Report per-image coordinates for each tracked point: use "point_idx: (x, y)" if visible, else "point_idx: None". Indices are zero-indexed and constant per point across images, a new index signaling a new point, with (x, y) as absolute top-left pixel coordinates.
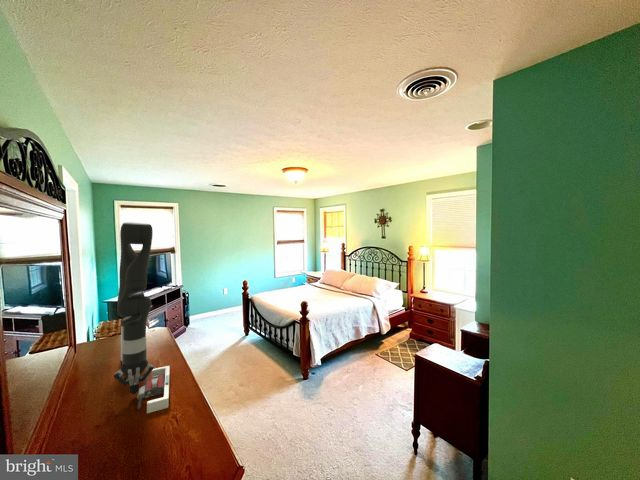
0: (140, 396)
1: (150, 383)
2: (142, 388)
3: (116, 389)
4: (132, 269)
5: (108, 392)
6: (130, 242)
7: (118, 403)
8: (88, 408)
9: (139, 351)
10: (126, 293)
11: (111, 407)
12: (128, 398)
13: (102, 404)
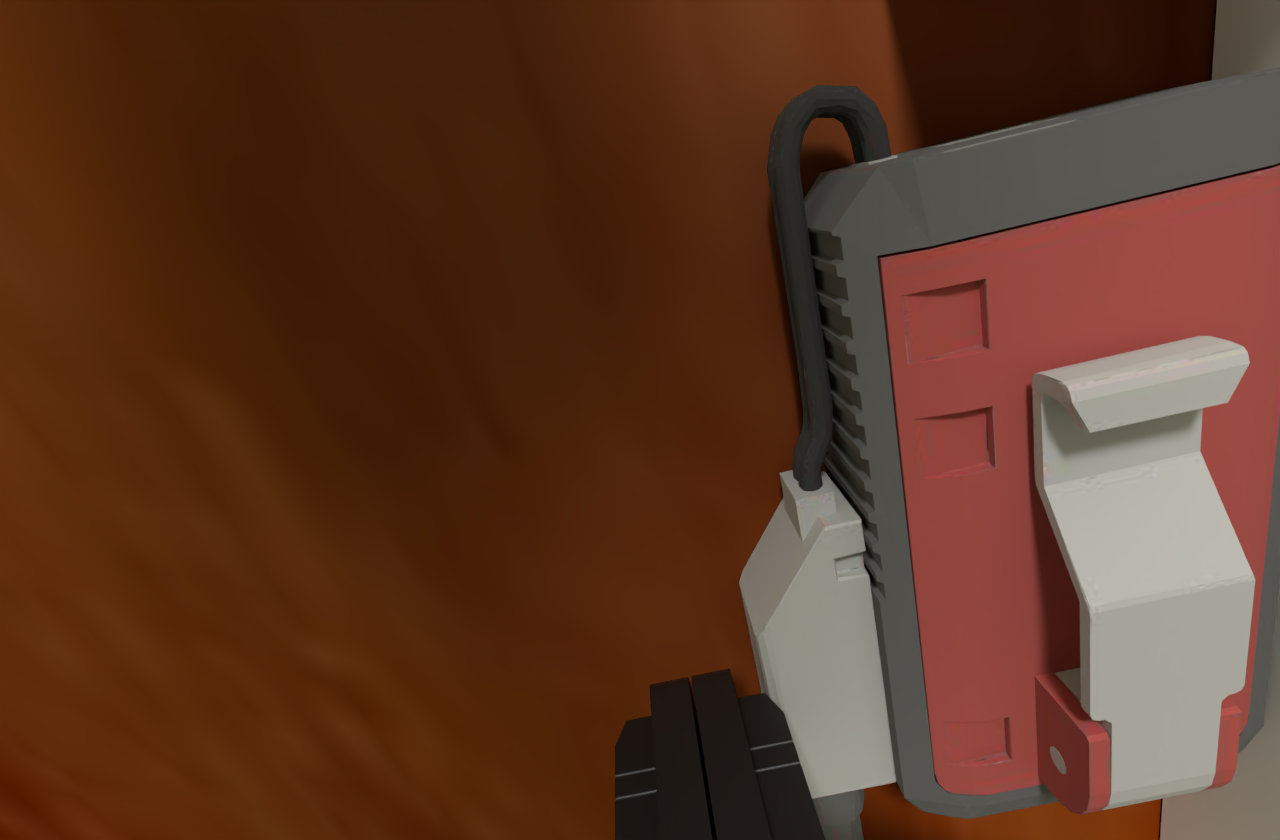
0: (838, 823)
1: (1002, 591)
2: (824, 634)
3: (172, 291)
4: None
5: (65, 376)
6: None
7: (495, 762)
8: (73, 783)
9: None
10: None
11: (437, 828)
12: (600, 672)
13: (236, 734)
